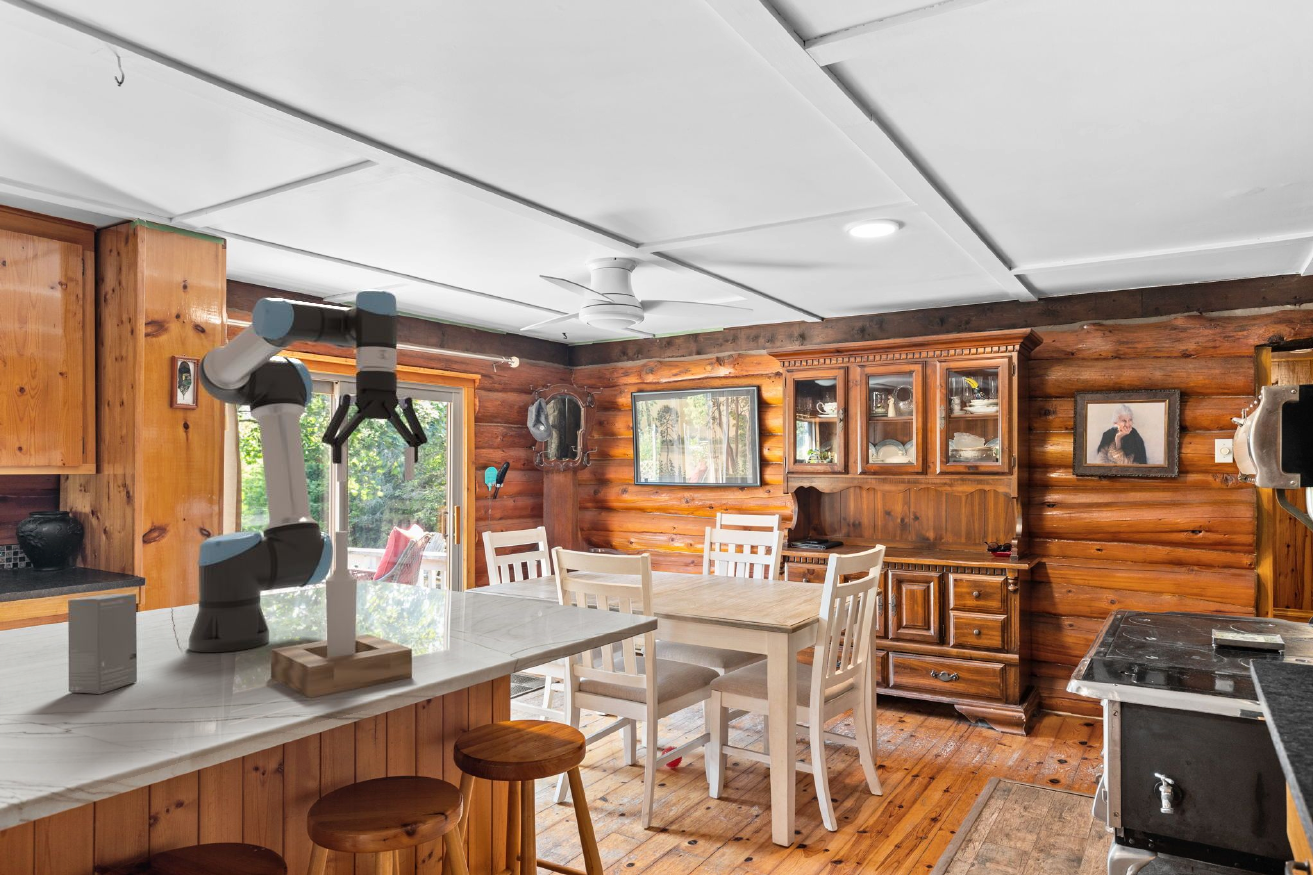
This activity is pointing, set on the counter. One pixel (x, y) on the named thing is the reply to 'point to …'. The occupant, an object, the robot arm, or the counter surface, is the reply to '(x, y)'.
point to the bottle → (341, 603)
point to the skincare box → (102, 642)
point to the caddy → (340, 666)
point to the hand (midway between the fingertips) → (376, 480)
